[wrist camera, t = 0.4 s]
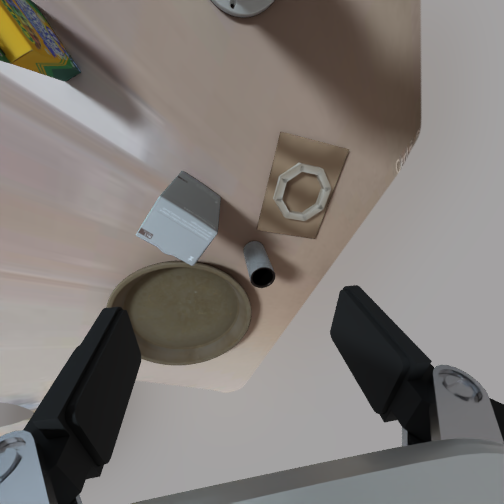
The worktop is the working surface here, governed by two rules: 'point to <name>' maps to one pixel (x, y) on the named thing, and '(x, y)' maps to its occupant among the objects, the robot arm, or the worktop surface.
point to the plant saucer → (183, 311)
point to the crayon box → (32, 41)
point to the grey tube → (258, 265)
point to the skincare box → (183, 219)
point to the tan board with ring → (300, 185)
